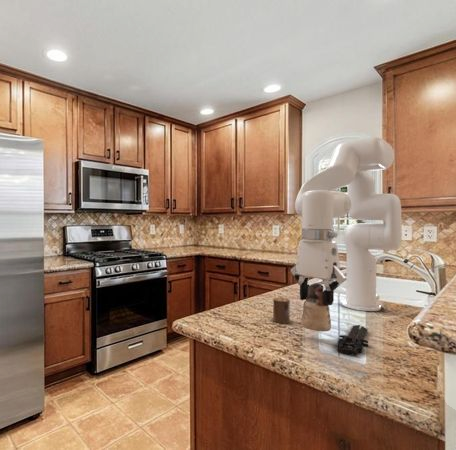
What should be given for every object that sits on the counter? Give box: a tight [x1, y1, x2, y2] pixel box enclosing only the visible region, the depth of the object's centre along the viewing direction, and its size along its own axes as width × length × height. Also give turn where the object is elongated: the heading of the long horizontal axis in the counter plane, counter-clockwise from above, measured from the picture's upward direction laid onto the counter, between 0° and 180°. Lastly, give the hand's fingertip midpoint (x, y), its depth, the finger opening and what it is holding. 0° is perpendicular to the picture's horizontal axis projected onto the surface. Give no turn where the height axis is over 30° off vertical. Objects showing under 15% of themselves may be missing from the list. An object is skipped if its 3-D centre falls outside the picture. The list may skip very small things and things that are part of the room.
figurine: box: [300, 283, 332, 332], centre depth 85 cm, size 7×7×12 cm
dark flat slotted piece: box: [336, 324, 369, 357], centre depth 85 cm, size 25×6×1 cm, turn 135°
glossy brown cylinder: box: [272, 297, 291, 325], centre depth 101 cm, size 5×5×7 cm
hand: (315, 301), depth 85 cm, fingers closed on figurine, 6 cm apart
